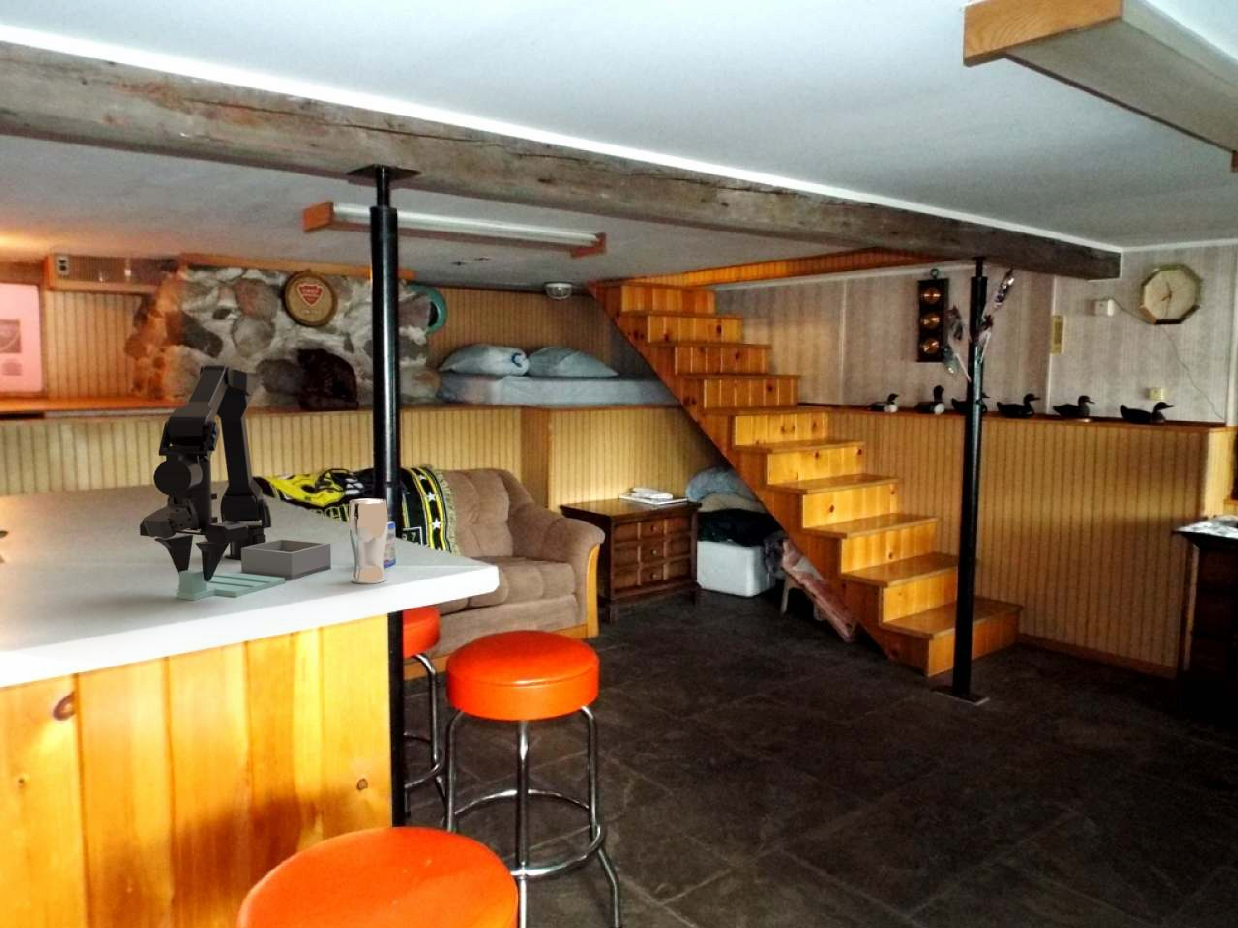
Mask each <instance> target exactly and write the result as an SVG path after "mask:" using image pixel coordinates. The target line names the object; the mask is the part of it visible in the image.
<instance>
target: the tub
mask: <svg viewBox="0 0 1238 928" xmlns="http://www.w3.org/2000/svg"><path fill="white" fill-rule="evenodd" d="M331 560H332V559H331V543H329V542H317V541H304V540H298V539H297V540H295V539H285V538H280V539H274V540H271V541H266V543H261V544H257V545H252V546H248V547H244V548H241V559H240V564H241V565H240V566H241V568H240V569H241V574H250V575H259V576H268V577H277V578H285V580H291V581H292V580H296V579H300V578H304V577H307V576H309V575H310V576H311V575H314V574H317V573H320V572H324V571H326V570H331V569H332V566H331V565H332V564H331V563H332V562H331Z"/></svg>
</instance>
